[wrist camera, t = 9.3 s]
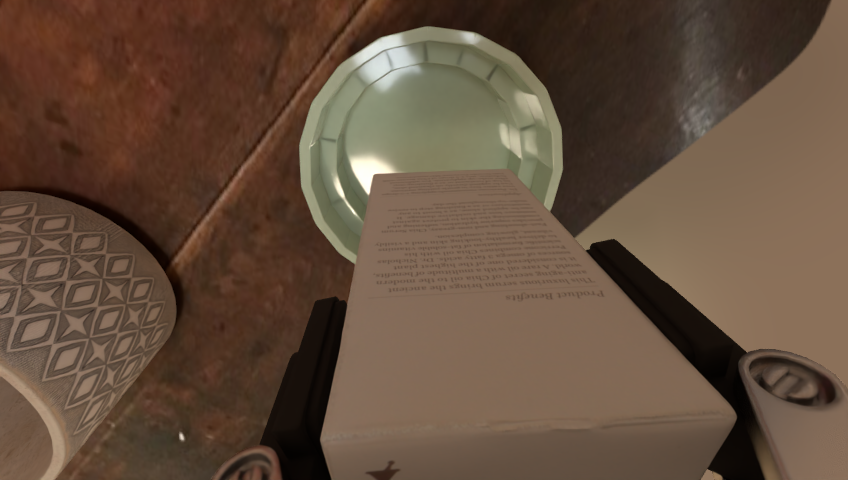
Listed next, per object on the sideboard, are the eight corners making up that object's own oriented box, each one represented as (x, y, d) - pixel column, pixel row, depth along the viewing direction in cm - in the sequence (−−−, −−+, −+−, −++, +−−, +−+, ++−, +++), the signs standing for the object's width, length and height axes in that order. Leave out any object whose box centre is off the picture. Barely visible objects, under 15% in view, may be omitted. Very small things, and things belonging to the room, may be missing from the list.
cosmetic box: (380, 258, 17) (345, 587, 7) (372, 170, 15) (305, 440, 5) (506, 252, 18) (667, 561, 7) (514, 165, 16) (757, 411, 5)
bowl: (521, 8, 23) (558, -6, 17) (536, 223, 30) (565, 260, 24) (287, 63, 23) (254, 67, 18) (355, 261, 30) (346, 306, 25)
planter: (209, 350, 34) (114, 499, 23) (24, 360, 33) (-169, 520, 22) (142, 180, 26) (-51, 276, 15) (-99, 188, 26) (-492, 297, 14)
